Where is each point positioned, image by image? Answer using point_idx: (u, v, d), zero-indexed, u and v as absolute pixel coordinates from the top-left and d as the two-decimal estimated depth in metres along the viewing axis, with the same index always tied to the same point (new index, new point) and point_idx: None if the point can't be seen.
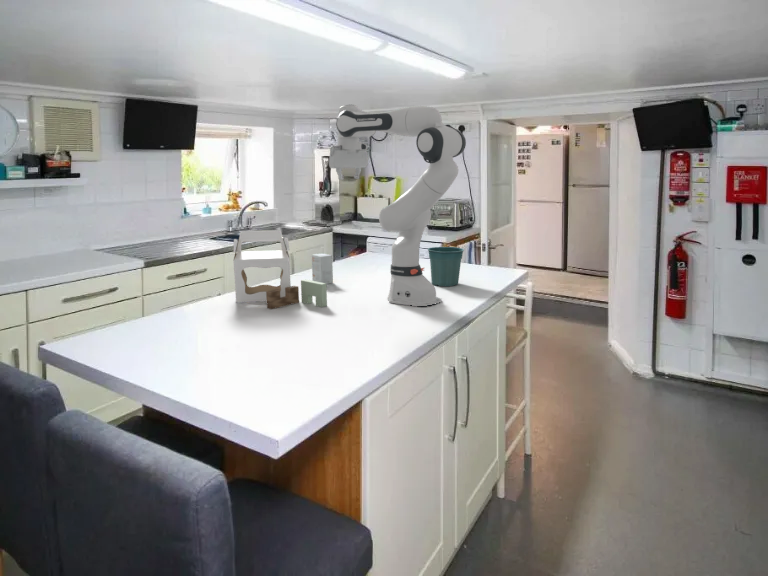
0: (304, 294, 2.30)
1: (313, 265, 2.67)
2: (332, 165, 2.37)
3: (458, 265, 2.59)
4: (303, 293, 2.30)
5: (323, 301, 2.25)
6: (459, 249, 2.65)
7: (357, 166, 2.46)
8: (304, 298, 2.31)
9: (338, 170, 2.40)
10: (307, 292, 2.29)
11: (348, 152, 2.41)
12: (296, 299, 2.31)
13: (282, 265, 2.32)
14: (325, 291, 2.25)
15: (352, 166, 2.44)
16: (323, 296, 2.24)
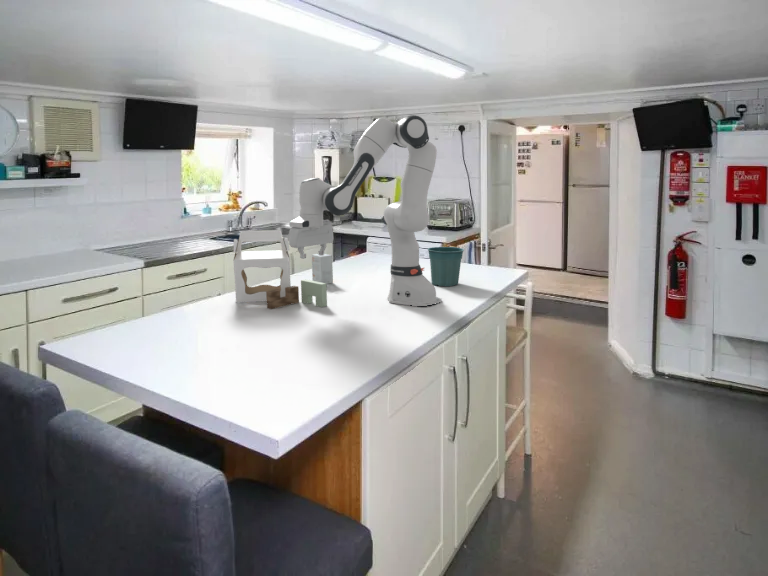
0: (304, 294, 2.30)
1: (313, 265, 2.67)
2: None
3: (458, 265, 2.59)
4: (303, 293, 2.30)
5: (323, 301, 2.25)
6: (459, 249, 2.65)
7: None
8: (304, 298, 2.31)
9: None
10: (307, 292, 2.29)
11: None
12: (296, 299, 2.31)
13: (282, 265, 2.32)
14: (325, 291, 2.25)
15: None
16: (323, 296, 2.24)
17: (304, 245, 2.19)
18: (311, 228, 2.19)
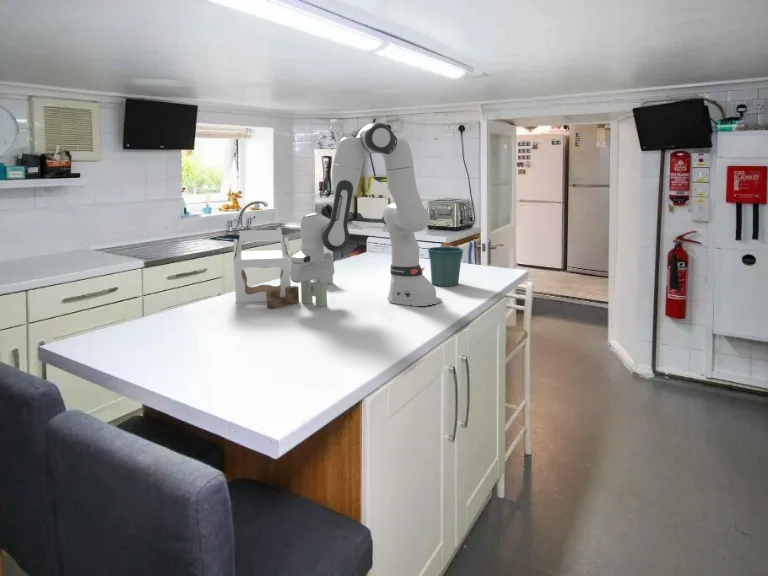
0: (304, 294, 2.30)
1: None
2: None
3: (458, 265, 2.59)
4: (303, 293, 2.30)
5: (323, 301, 2.25)
6: (459, 249, 2.65)
7: None
8: (304, 298, 2.31)
9: None
10: (307, 292, 2.29)
11: None
12: (296, 299, 2.31)
13: (282, 265, 2.32)
14: (325, 291, 2.25)
15: None
16: (323, 296, 2.24)
17: (305, 279, 2.22)
18: (312, 262, 2.22)
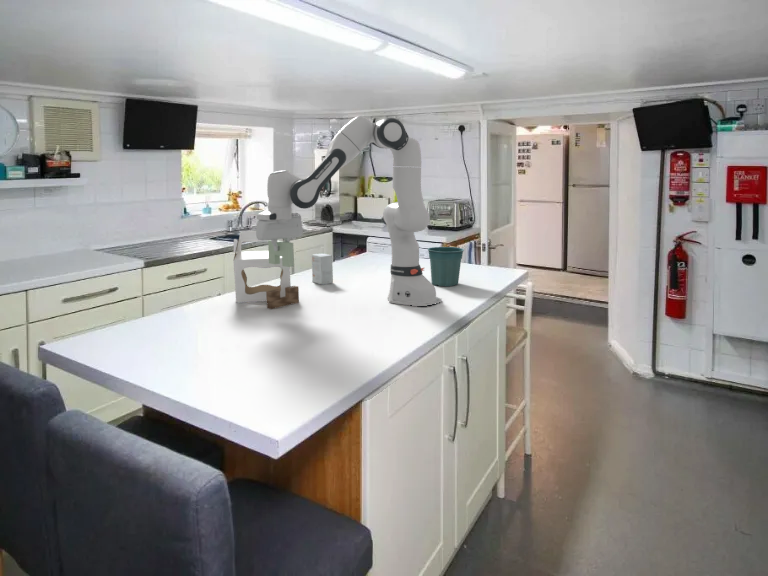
0: (271, 254, 2.25)
1: (313, 265, 2.67)
2: None
3: (458, 265, 2.59)
4: (270, 253, 2.25)
5: (290, 261, 2.19)
6: (459, 249, 2.65)
7: None
8: (271, 258, 2.26)
9: None
10: (274, 252, 2.24)
11: None
12: (296, 299, 2.31)
13: None
14: (292, 251, 2.19)
15: None
16: (290, 256, 2.19)
17: (271, 238, 2.17)
18: (279, 221, 2.17)
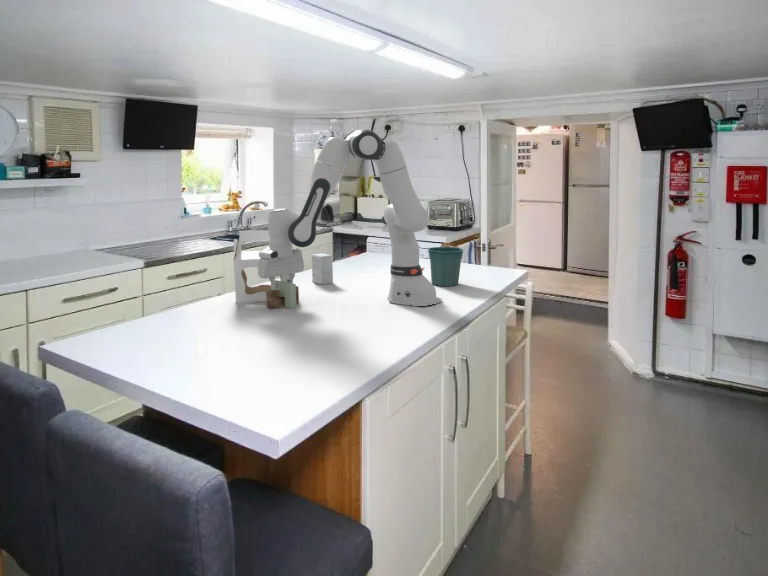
0: None
1: (313, 265, 2.67)
2: None
3: (458, 265, 2.59)
4: None
5: (292, 302, 2.23)
6: (459, 249, 2.65)
7: None
8: None
9: None
10: None
11: None
12: (296, 299, 2.31)
13: None
14: (294, 292, 2.23)
15: None
16: (292, 297, 2.23)
17: (273, 275, 2.20)
18: (280, 258, 2.20)
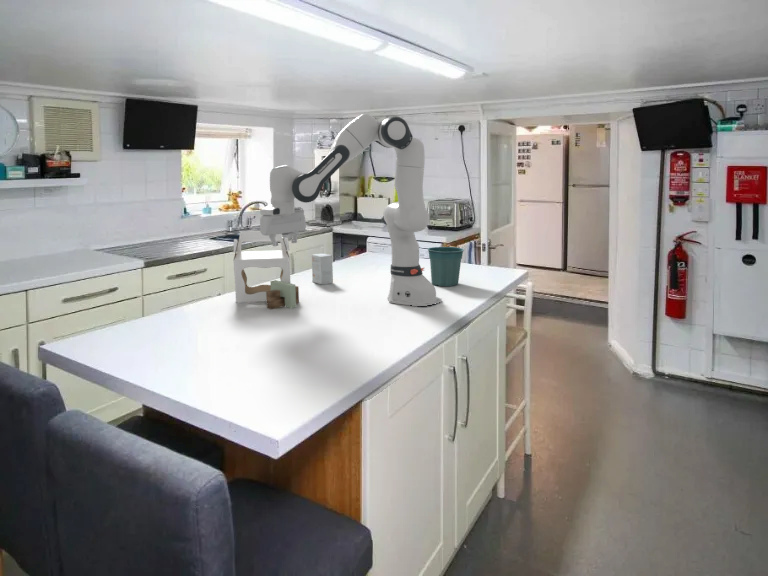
0: None
1: (313, 265, 2.67)
2: None
3: (458, 265, 2.59)
4: None
5: (292, 302, 2.23)
6: (459, 249, 2.65)
7: None
8: None
9: None
10: None
11: None
12: (296, 299, 2.31)
13: (282, 265, 2.32)
14: (294, 292, 2.23)
15: None
16: (292, 297, 2.23)
17: (275, 233, 2.19)
18: (282, 215, 2.19)
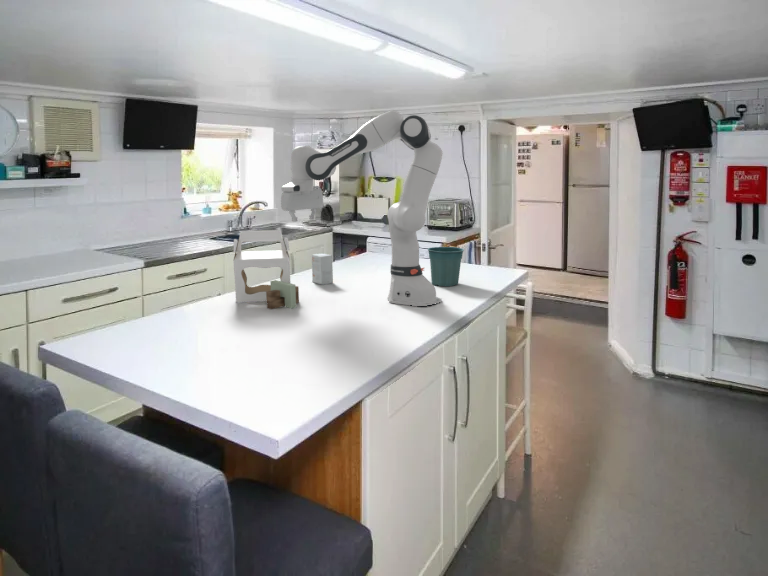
0: None
1: (313, 265, 2.67)
2: None
3: (458, 265, 2.59)
4: None
5: (292, 302, 2.23)
6: (459, 249, 2.65)
7: None
8: None
9: None
10: None
11: None
12: (296, 299, 2.31)
13: (282, 265, 2.32)
14: (294, 292, 2.23)
15: None
16: (292, 297, 2.23)
17: (295, 208, 2.34)
18: (302, 193, 2.34)
